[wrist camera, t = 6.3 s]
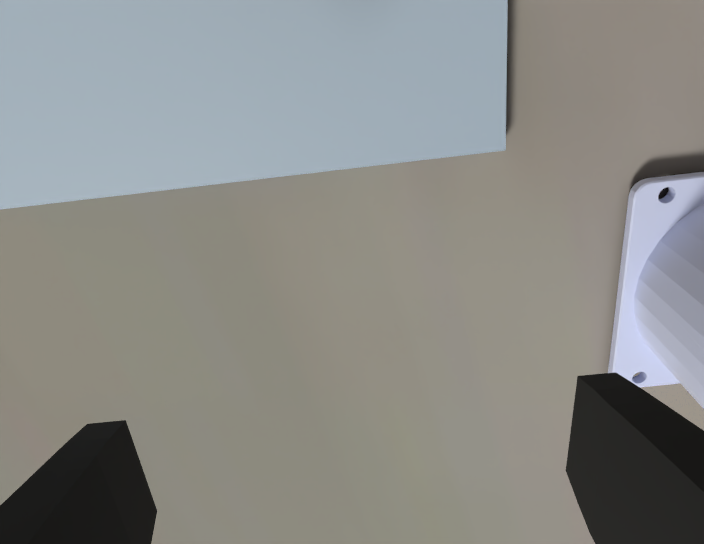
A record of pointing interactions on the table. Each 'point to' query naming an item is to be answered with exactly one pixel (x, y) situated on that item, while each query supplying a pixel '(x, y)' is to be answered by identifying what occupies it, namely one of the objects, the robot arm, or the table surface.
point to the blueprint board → (239, 90)
